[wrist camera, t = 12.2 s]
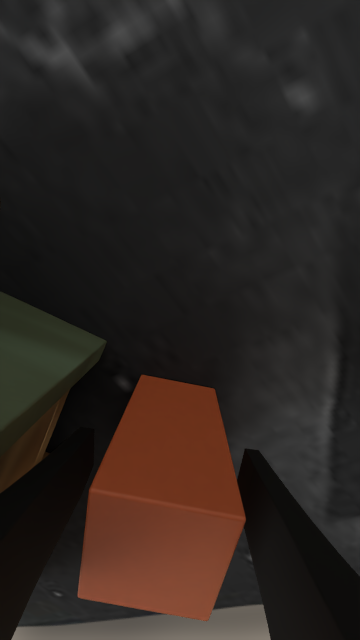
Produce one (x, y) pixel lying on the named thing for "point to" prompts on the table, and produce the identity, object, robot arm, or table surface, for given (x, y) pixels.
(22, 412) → the drawer
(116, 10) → the table surface
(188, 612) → the block
